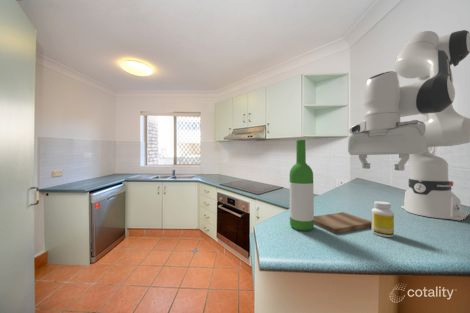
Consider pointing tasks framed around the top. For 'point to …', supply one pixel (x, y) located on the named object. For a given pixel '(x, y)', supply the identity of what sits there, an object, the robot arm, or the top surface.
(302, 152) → the wine bottle
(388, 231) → the supplement bottle
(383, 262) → the top surface
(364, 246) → the top surface
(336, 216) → the walnut board
